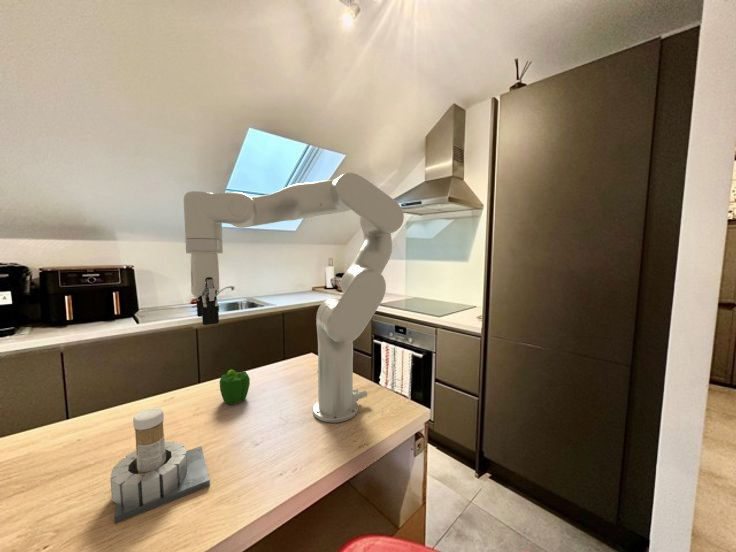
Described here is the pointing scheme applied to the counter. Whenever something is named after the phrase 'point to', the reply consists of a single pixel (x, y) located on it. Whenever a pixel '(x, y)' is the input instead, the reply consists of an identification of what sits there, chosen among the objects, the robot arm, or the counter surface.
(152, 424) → the sprinkles bottle
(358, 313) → the robot arm
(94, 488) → the counter surface
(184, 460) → the collar block
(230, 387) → the bell pepper
